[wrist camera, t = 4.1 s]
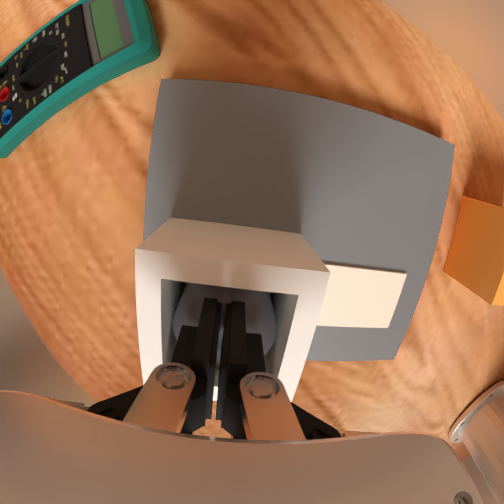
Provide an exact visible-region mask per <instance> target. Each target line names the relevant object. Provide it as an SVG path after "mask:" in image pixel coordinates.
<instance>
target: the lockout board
mask: <svg viewBox="0 0 504 504" xmlns="http://www.w3.org/2000/svg"><path fill="white" fill-rule="evenodd" d="M454 147H455V145H453V144H451V143H449V142H447V141H445V140H443V139H440V138H438V137H436V136H434V135H431V134H429V133H427V132H424V131H422V130H420V129H417V128H415V127H412V126H410V125H407V124H405V123H402V122H399V121H397V120H394V119H391V118H388V117H385V116H382V115H379V114H376V113H373V112H370V111H367V110H364V109H361V108H357V107H354V106H350V105H347V104H343V103H340V102H336V101H332V100H328V99H324V98H320V97H316V96H311V95H307V94H302V93H297V92H292V91H287V90H281V89H276V88H270V87H263V86H257V85H249V84H241V83H232V82H222V81H210V80H194V79H161V84H160V90H159V95H158V101H157V106H156V112H155V119H154V125H153V132H152V140H151V148H150V156H149V165H148V176H147V187H146V200H145V217H144V241H143V242H142V243H141V244H140V245H139V246H138V247H137V248H136V249H135V278H136V307H137V324H138V338H139V349H140V359H141V368H142V376H143V384H145V382H146V381H147V379H148V377H149V376H150V374H151V372H152V371H153V370H154V369H155V367H157V366H159V365H160V364H164V363H171V360H172V356H173V353H174V350H175V346H176V343H177V341H176V338H175V336H174V331H173V318H174V314H175V312H176V309H177V307H178V304H179V301H180V299H181V296H182V294H183V291H184V289H185V287H186V284H187V282H190V283H198V284H205V285H213V286H221V287H230V288H238V289H247V290H256V291H265V292H270V296H271V301H272V306H273V310H274V315H275V320H276V325H277V332H276V337H275V341H274V343H273V345H272V347H271V348H270V350H269V351H268V352H267V354H266V355H265V356H264V360H265V367H266V373H269V374H271V375H273V376H275V377H277V378H278V379H279V380H281V382H282V383H283V385H284V387H285V390H286V392H287V395H288V397H289V400H290V402H292V399H293V396H294V394H295V391H296V388H297V385H298V382H299V379H300V376H301V373H302V370H303V367H304V364H305V361H306V360H308V361H367V360H391V359H394V358H395V356H396V353H397V351H398V349H399V347H400V345H401V343H402V340H403V338H404V336H405V333H406V331H407V329H408V326H409V324H410V321H411V319H412V316H413V314H414V311H415V309H416V306H417V303H418V301H419V298H420V295H421V292H422V289H423V286H424V283H425V280H426V277H427V274H428V271H429V268H430V265H431V261H432V258H433V255H434V251H435V247H436V244H437V240H438V236H439V232H440V228H441V224H442V219H443V215H444V210H445V206H446V201H447V195H448V190H449V184H450V178H451V171H452V164H453V156H454ZM218 380H219V369H216V371H215V381H214V392H213V400H215V401H217V394H218Z"/></svg>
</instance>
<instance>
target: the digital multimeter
mask: <svg viewBox="0 0 504 504" xmlns="http://www.w3.org/2000/svg"><path fill="white" fill-rule="evenodd" d="M159 55H160V49H159V44H158V39H157V34H156V30H155V26H154V22H153V19H152V16H151V12H150V9H149V7H148V5H147V2H146V0H80V1H78V2H77V3H75V4H74V5H72V6H71V7H69V8H68V9H66V10H65V11H63V12H62V13H60V14H59V15H58V16H56V17H55V18H53V19H52V20H51V21H49V22H48V23H47V24H45V25H44V26H43V27H42V28H40V29H39V30H38V31H37V32H35V33H34V34H33V35H32V36H31V37H29V38H28V39H27V40H26V41H25V42H23V43H22V44H21V45H20V46H19V47H18V48H16V49H15V50H14V51H13V52H12V53H11V54H10V55H9V56H8V57H7V58H6V59H5V60H4V61H3V62H1V63H0V158H6V157H8V155H9V154H10V153H11V152H12V151H13V150H14V149H15V148H16V147H17V146H18V145H19V144H20V143H21V142H23V141H24V140H25V139H26V138H27V137H28V136H29V135H30V134H31V133H32V132H34V131H35V130H36V129H37V128H38V127H39V126H41V125H42V124H43V123H44V122H46V121H47V120H48V119H49V118H51V117H52V116H53V115H54V114H56V113H57V112H58V111H60V110H61V109H63V108H64V107H66V106H67V105H69V104H70V103H72V102H73V101H75V100H76V99H78V98H80V97H81V96H83V95H84V94H86V93H88V92H89V91H91V90H93V89H94V88H96V87H98V86H100V85H102V84H104V83H106V82H108V81H110V80H112V79H114V78H116V77H118V76H120V75H122V74H124V73H126V72H128V71H130V70H133V69H135V68H137V67H140V66H142V65H144V64H147V63H149V62H151V61H154V60H155V59H157V58H158V56H159ZM87 69H88V70H87ZM84 71H85V72H84ZM76 76H77V77H76ZM73 78H74V79H73ZM70 80H71V81H70ZM63 85H64V86H63ZM60 87H61V88H60ZM56 90H57V91H56ZM28 93H29V94H28ZM52 93H53V94H52ZM48 96H49V97H48ZM44 99H45V100H44ZM39 103H40V104H39ZM34 107H35V108H34ZM28 112H29V113H28ZM11 127H12V128H11ZM10 128H11V129H10ZM9 129H10V130H9ZM8 130H9V131H8Z"/></svg>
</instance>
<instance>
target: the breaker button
mask: <svg viewBox="0 0 504 504" xmlns="http://www.w3.org/2000/svg"><path fill="white" fill-rule="evenodd" d="M205 297H206V298H214V299H218V300H217V302H219V303H222V310H221V320H220V330H219V340H218V350H217V360H216V369H219V367H220V355H221V346H222V337H223V328H224V319H225V311H226V303H227V304H231V303H232V301H240V302H245V315H246V333H257V334H261V336H262V344H263V352H264V356H265V355H266V354H267V352H268V351H269V350H270V348H271V347H272V345H273V343H274V341H275V337H276V332H277V325H276V320H275V315H274V310H273V306H272V301H271V296H270V292H265V291H256V290H247V289H238V288H230V287H221V286H213V285H205V284H198V283H190V282H187V284H186V287H185V289H184V291H183V294H182V296H181V299H180V301H179V304H178V307H177V309H176V312H175V314H174V318H173V331H174V336H175V338H176V341H177V340H178V336H179V333H180V330H181V327H182V325H187V326H194V327H198V324H199V320H200V315H201V311H202V306H203V302H204V298H205Z"/></svg>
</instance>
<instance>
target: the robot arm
mask: <svg viewBox="0 0 504 504" xmlns="http://www.w3.org/2000/svg"><path fill="white" fill-rule="evenodd" d="M217 300H218V299H214V298H206V297H205V298H204V302H203V306H202V311H201V315H200V320H199V324H198V327H194V326H187V325H182V327H181V330H180V333H179V336H178V340H177V343H176V346H175V350H174V353H173V356H172V360H171V363H164V364H160V365H159V366H157V367H155V369H154V370H153V371H152V372H151V374H150V376H149V377H148V379H147V381H146V382H145V384H144V385H143V386H141V387H138V388H136V389H133V390H130V391H128V392H125V393H122V394H120V395H117V396H114V397H112V398H109V399H106V400H103V401H100V402H98V403H96V404H94V405H92V406H91V407H85V404H83V403H75V402H68V401H61V400H55V399H50V398H44V397H41V396H37V395H33V394H29V393H24V392H19V391H8V390H4V391H0V504H484V503H483V501H482V499H481V497H480V495H479V492H478V490H477V488H476V486H475V484H474V482H473V480H472V479H471V477H470V475H469V473H468V471H467V470H466V468H465V466H464V465H463V463H462V461H461V460H460V458H459V457H458V455H457V454H456V453H455V451H454V450H453V449H452V447H451V446H450V445H449V444H448V443H447V442H446V441H445V440H443V439H442V438H440V437H438V436H435V435H432V434H427V433H420V432H387V433H374V432H356V431H345V432H344V433H339V432H338V431H337V430H336V429H335V428H333V427H332V426H330V425H328V424H327V423H325V422H323V421H321V420H320V419H318V418H316V417H315V416H313V415H311V414H310V413H308V412H306V411H305V410H303V409H301V408H300V407H298V406H297V405H295V404H294V403H292V402H290V400H289V397H288V395H287V392H286V390H285V387H284V385H283V383H282V382H281V380H279V379H278V378H277V377H275V376H273V375H271V374H269V373H266V367H265V360H264V352H263V344H262V336H261V334H257V333H246V315H245V302H240V301H232V303H231V304H227V303H226V311H225V319H224V328H223V337H222V346H221V355H220V367H219V380H218V394H217V409H216V420H221V428H224V429H225V430H226V431H227V432H228V433H230V434H231V438H230V439H228V438H217V437H207V436H198V435H194V432H195V431H196V430H197V429H199V428H201V427H203V426H205V419H211V415H212V404H213V392H214V381H215V371H216V360H217V350H218V340H219V330H220V320H221V310H222V303H219V302H217ZM448 437H449V439H450V441H451V442H452V443H458V442H461V441H463V443H464V444H465V446H466V448H467V449H468V451H469V452H470V454H471V456H472V457H473V459H474V461H475V462H476V464H477V466H478V467H479V469H480V471H481V473H482V475H483V476H484V478H485V480H486V482H487V484H488V485H489V487H490V489H491V491H492V493H493V495H494V497H495V498H496V500H497V502H498V504H504V380H503V381H500V382H498V383H496V384H494V385H493V386H492V387H490V388H489V389H488V390H486V391H485V392H484V393H483V394H482V395H480V396H479V397H478V398H477V399H476V400H475V401H474V402H473V403H472V404H471V405H470V406H469V407H468V408H467V409H466V410H465V411H464V412H463V413H462V415H461V416H460V417H459V418H458V419H457V421H456V422H455V423H454V425H453V426H452V428H451V430H450V432H449V435H448Z"/></svg>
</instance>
